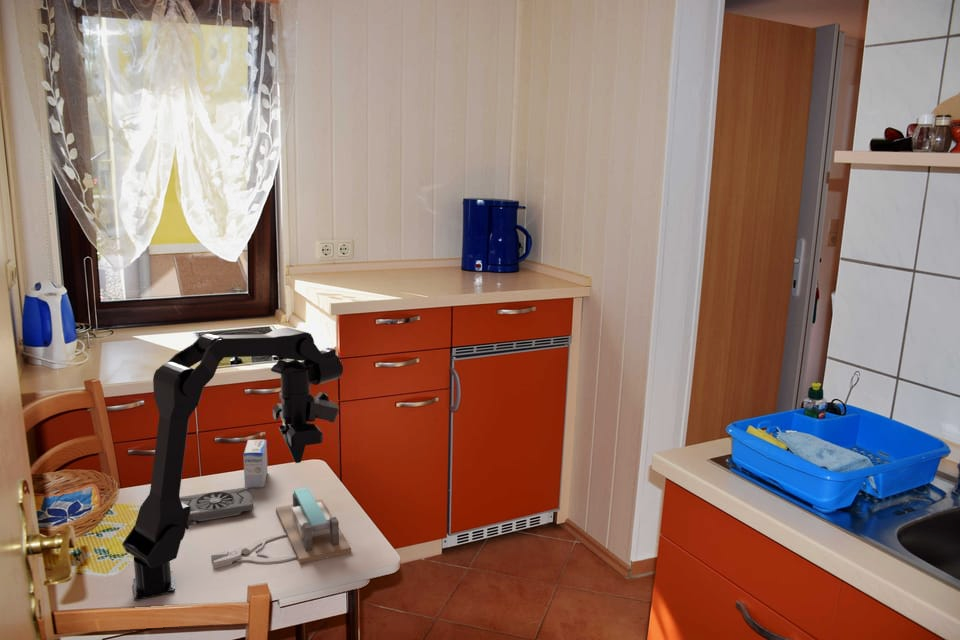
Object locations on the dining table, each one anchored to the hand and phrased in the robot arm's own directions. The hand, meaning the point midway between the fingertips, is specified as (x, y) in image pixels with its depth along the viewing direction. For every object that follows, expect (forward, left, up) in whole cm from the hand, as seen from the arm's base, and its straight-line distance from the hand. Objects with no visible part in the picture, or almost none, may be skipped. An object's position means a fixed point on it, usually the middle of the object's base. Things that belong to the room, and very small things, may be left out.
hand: (297, 461), depth 154 cm
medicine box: (+22, +5, -13) cm, 26 cm away
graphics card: (+9, +16, -14) cm, 23 cm away
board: (-6, -1, -13) cm, 14 cm away
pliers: (-11, +11, -13) cm, 20 cm away
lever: (-6, -1, -8) cm, 10 cm away
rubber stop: (+1, -1, -13) cm, 13 cm away
